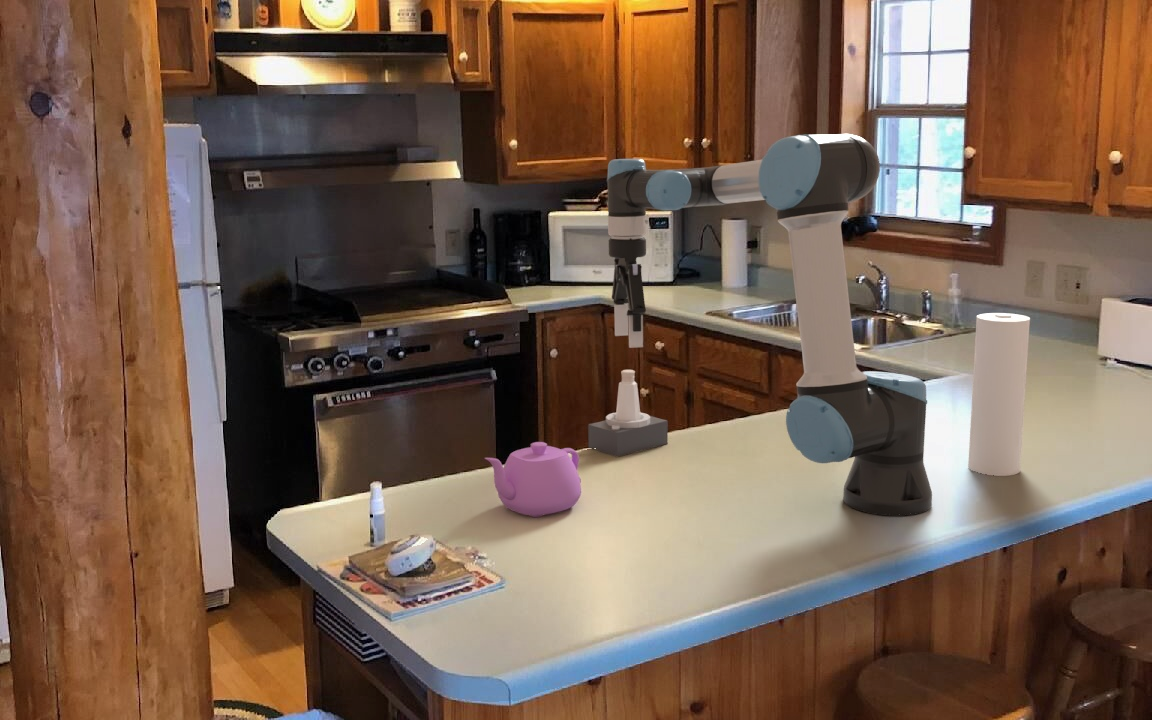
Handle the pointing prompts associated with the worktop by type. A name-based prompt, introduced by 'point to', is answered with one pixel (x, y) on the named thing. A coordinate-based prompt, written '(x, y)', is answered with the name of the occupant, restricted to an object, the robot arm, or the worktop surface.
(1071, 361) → the worktop surface
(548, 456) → the teapot
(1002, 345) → the cylinder container
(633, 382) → the salt shaker
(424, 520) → the worktop surface
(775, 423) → the worktop surface
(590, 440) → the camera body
